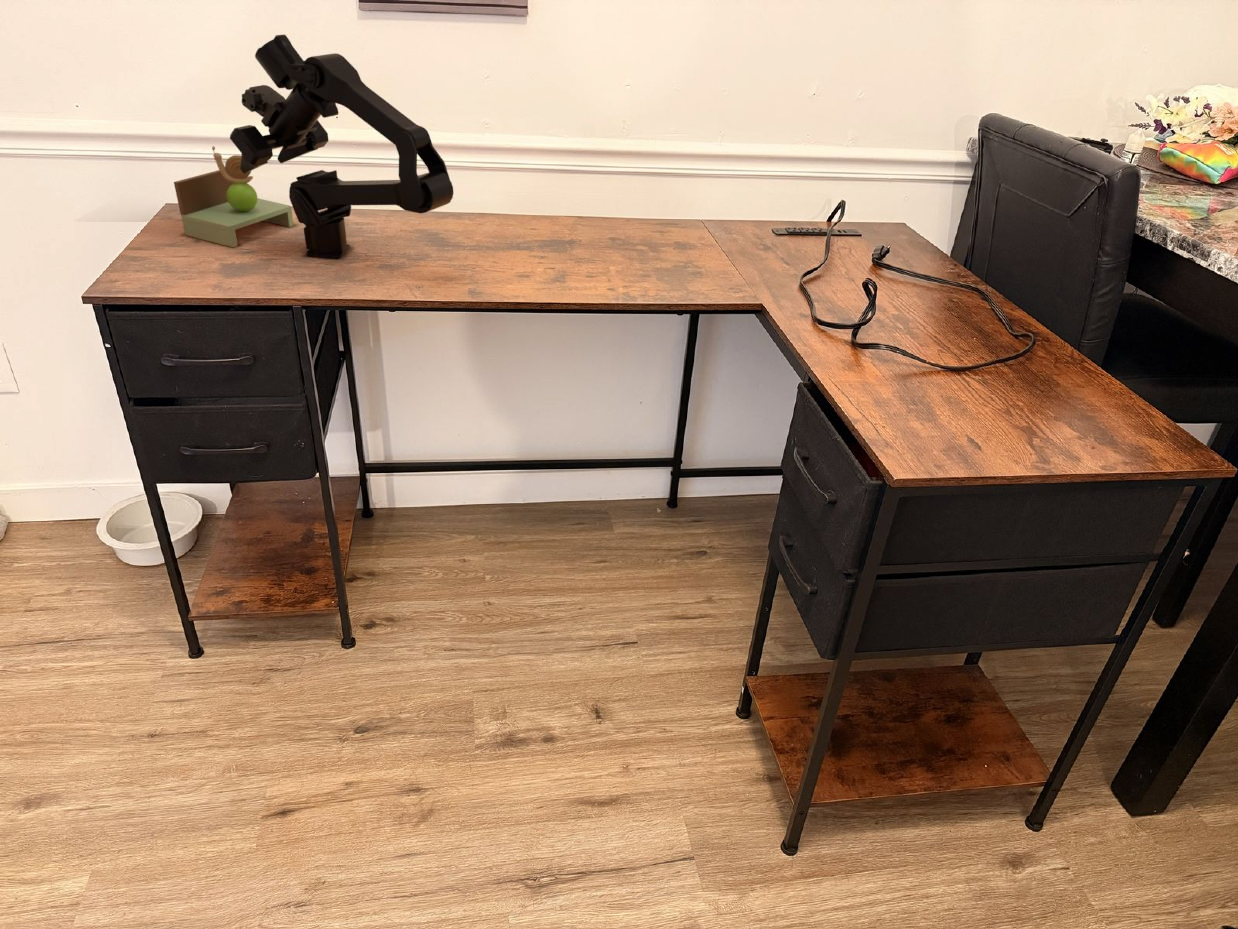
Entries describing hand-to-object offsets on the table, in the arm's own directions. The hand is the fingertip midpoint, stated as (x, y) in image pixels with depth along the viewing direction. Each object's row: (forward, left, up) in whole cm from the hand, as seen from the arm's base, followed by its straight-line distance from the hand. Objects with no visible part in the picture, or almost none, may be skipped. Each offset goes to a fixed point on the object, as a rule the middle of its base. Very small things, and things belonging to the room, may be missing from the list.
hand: (261, 165), depth 157 cm
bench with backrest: (+7, -3, -14) cm, 16 cm away
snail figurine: (+6, -2, -10) cm, 12 cm away
